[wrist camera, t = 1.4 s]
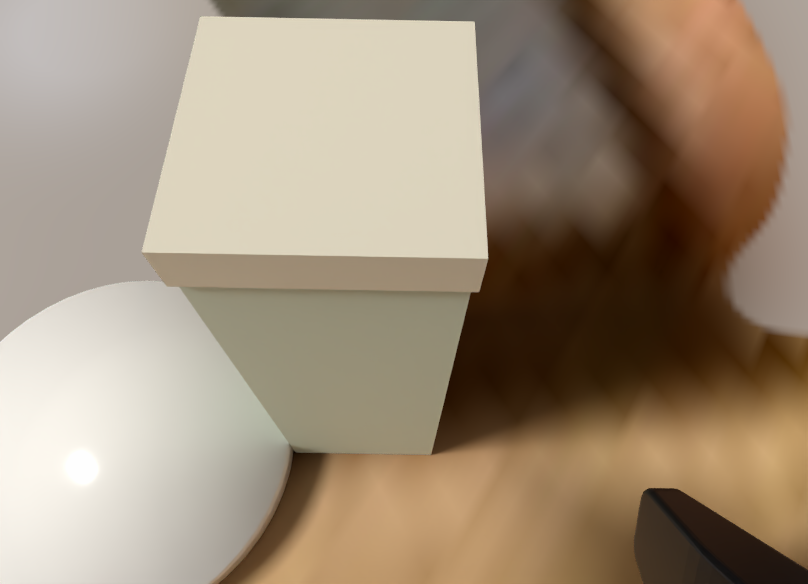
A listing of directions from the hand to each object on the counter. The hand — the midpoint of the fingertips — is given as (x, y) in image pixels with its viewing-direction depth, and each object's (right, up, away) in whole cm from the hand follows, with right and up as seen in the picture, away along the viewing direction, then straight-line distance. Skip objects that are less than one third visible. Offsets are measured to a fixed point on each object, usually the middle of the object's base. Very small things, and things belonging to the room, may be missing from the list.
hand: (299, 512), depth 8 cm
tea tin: (0, -1, +13) cm, 13 cm away
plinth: (-8, -2, +12) cm, 15 cm away
